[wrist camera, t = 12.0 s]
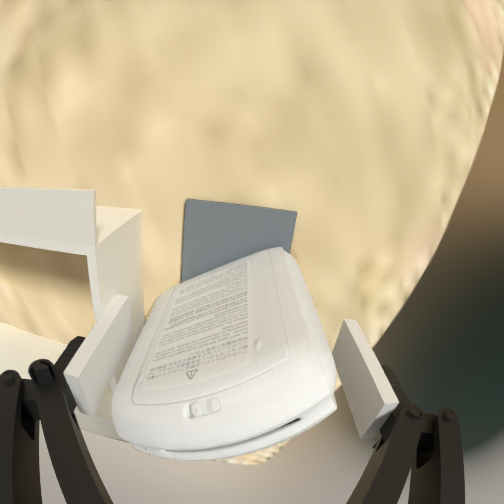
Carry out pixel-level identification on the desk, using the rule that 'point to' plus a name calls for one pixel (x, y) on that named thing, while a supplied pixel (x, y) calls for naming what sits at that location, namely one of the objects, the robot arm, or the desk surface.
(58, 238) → the carton
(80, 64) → the desk surface
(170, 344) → the photo printer
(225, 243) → the mat
